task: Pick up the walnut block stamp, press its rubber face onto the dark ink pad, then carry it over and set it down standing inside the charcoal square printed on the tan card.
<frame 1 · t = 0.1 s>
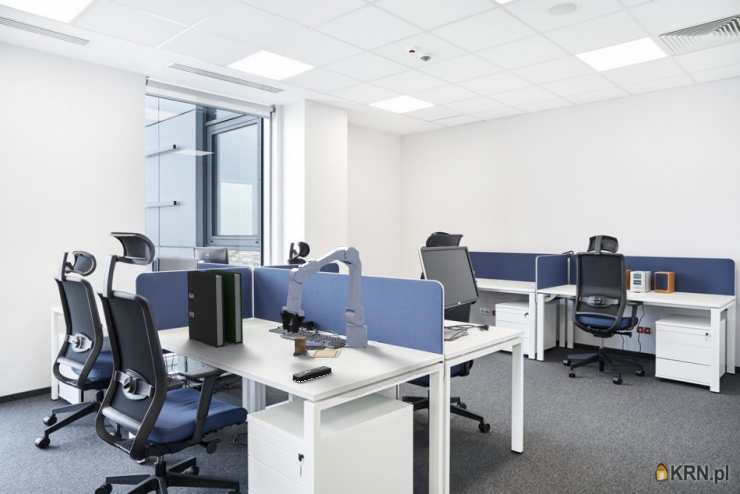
hand: (290, 331, 203), 11 cm above the table, fingers open, 7 cm apart
ink pad: (314, 347, 218), on the table
card: (326, 353, 207), on the table
stamp: (300, 354, 207), on the table
multiport hub: (312, 378, 177), on the table
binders: (215, 341, 233), on the table
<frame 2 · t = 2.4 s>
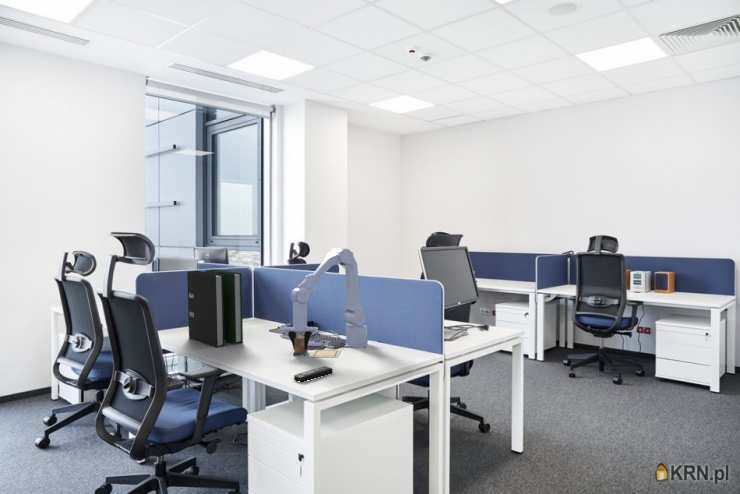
hand: (300, 349, 207), 2 cm above the table, fingers closed on stamp, 4 cm apart
stamp: (300, 354, 207), on the table, touching gripper
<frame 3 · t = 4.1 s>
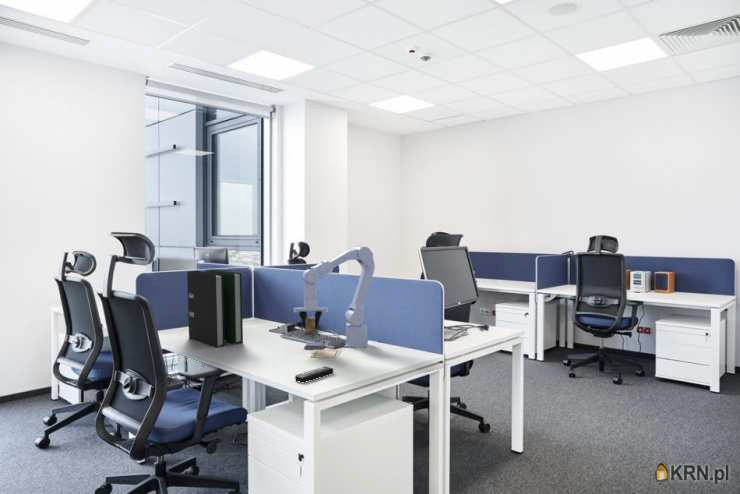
hand: (311, 329, 215), 9 cm above the table, fingers closed on stamp, 4 cm apart
stamp: (311, 334, 215), point 7 cm above the table, touching gripper
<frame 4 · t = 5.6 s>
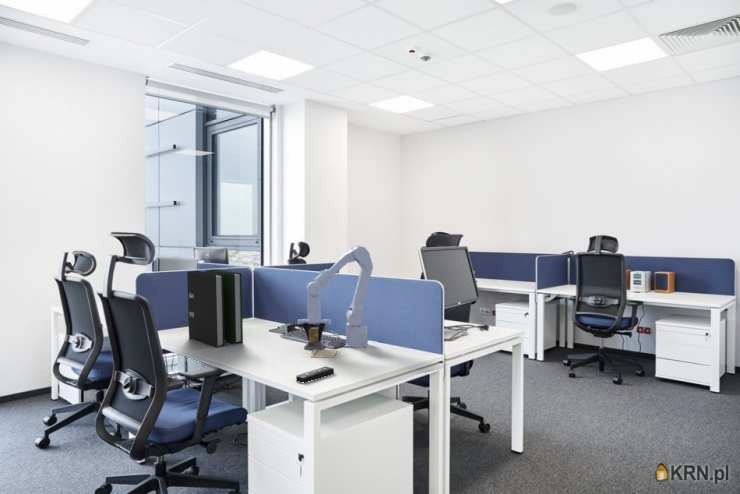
hand: (314, 340, 218), 3 cm above the table, fingers closed on stamp, 4 cm apart
stamp: (314, 344, 217), point 1 cm above the table, touching gripper, ink pad
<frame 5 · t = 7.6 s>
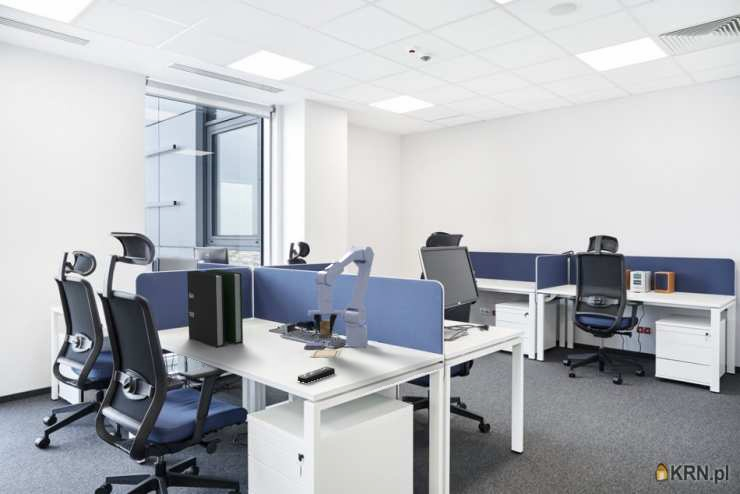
hand: (325, 332, 207), 9 cm above the table, fingers closed on stamp, 4 cm apart
stamp: (325, 337, 207), point 7 cm above the table, touching gripper
when the fingers open (2 cm above the table, at t = 9.2 s): stamp stays where it is, resting on card.
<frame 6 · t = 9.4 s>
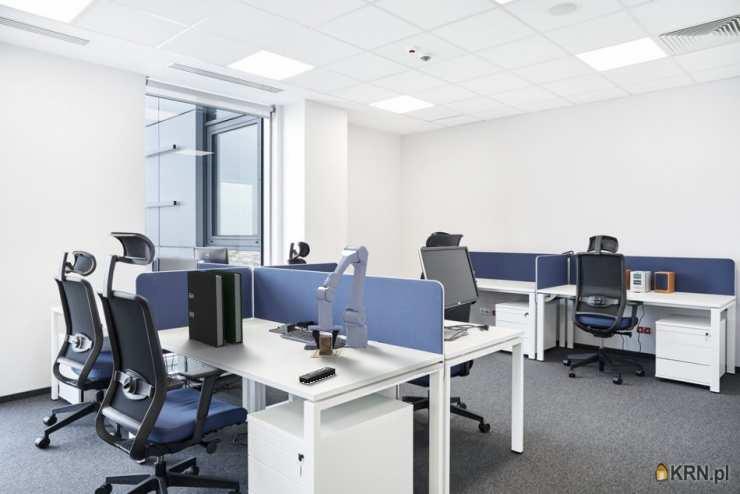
hand: (325, 348, 207), 2 cm above the table, fingers open, 6 cm apart
stamp: (325, 353, 207), resting on card
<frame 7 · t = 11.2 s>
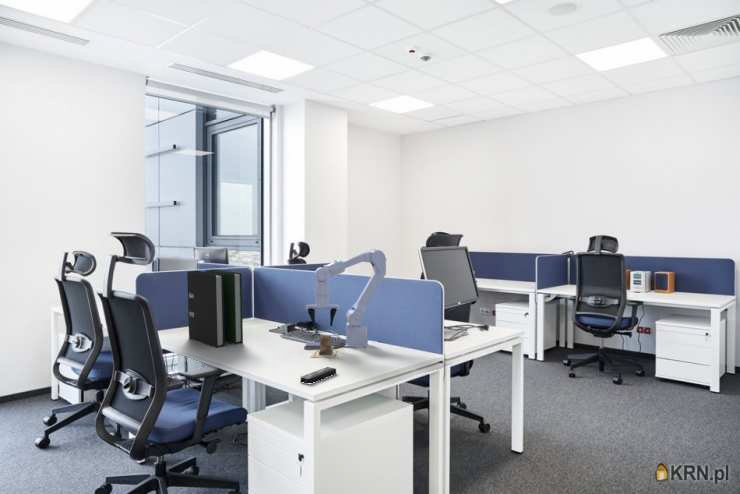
hand: (322, 325, 219), 9 cm above the table, fingers open, 7 cm apart
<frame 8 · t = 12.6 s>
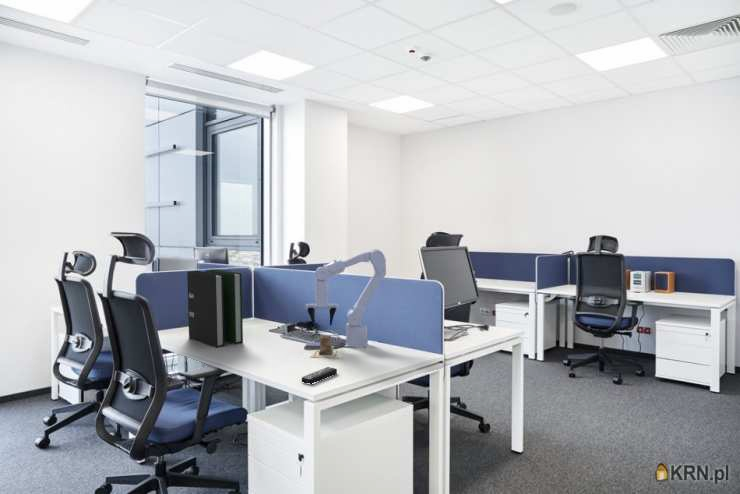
hand: (322, 324, 220), 9 cm above the table, fingers open, 7 cm apart
at the end: stamp 0.1 cm off-centre on the card, point 0.2 cm above the card's base; stamp tilted 0°; the gripper is holding nothing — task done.
